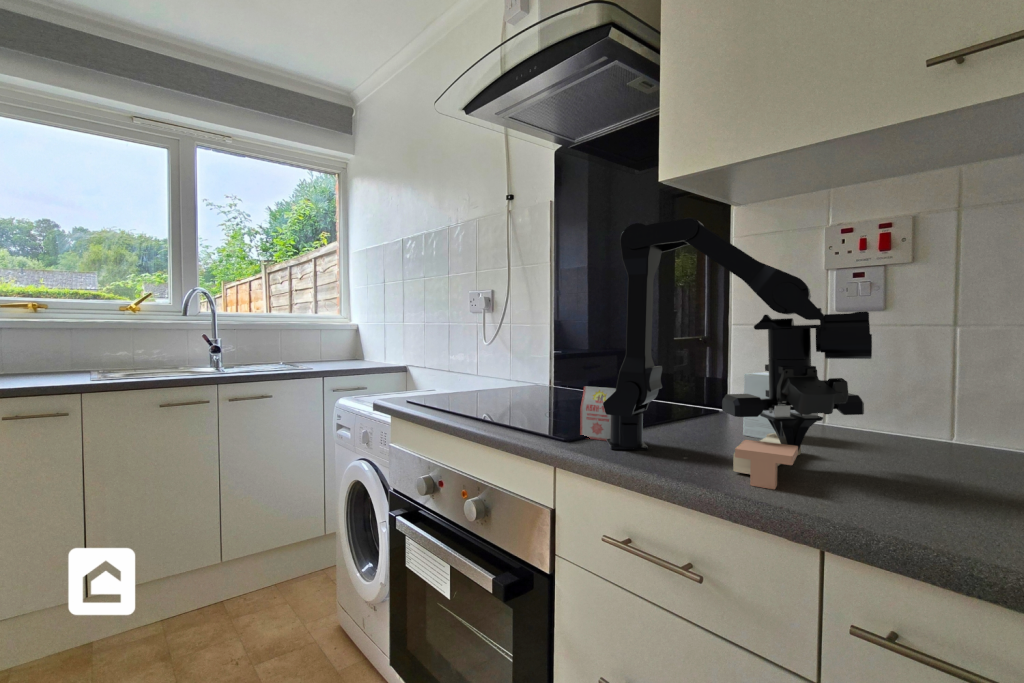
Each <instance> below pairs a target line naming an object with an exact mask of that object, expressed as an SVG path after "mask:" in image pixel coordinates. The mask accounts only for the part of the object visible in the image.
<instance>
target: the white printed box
mask: <svg viewBox="0 0 1024 683" xmlns="http://www.w3.org/2000/svg"><path fill="white" fill-rule="evenodd" d="M615 391H616V387H599V386H589V385H588V386H587V385H586V386H583V391H582V398H581V403H580V407H579V408H580V409H579V410H580V411H579V414H580V416H579V417H580V418H579V420H580V424H579V425H580V426H579V427H580V428H579V435H584V436H587V437H589V438H590V440H597V441H605V442H607V439H611V415H607V414H606V412H605V409H604V406H603V403H604V402H605V401H606V400H607V399H608V398H609V397H610V396H611V395H612V394H613V393H614V392H615ZM589 438H588V439H589Z"/></svg>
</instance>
